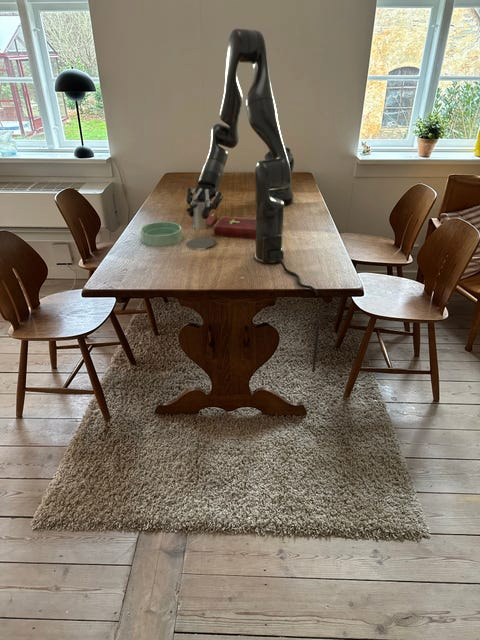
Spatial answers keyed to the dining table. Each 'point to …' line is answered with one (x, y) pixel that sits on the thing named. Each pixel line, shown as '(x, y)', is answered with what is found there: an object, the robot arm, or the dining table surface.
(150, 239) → the bowl
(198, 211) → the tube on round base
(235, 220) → the hardcover book
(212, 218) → the popsicle
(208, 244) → the coaster
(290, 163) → the beer stein
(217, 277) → the dining table surface
